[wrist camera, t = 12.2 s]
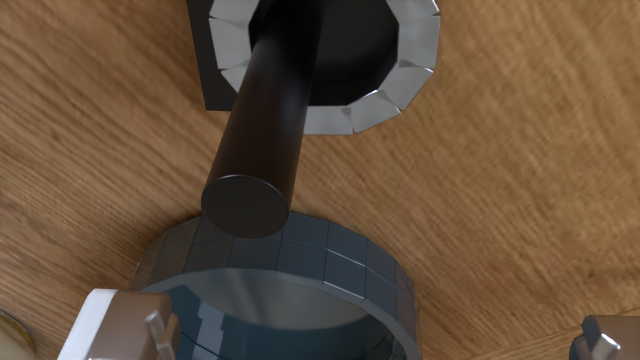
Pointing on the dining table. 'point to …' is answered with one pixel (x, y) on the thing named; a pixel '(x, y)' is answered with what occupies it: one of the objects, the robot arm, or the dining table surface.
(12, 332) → the teapot
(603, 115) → the dining table surface
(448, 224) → the dining table surface
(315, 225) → the bowl
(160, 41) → the dining table surface
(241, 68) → the ring
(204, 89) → the post
